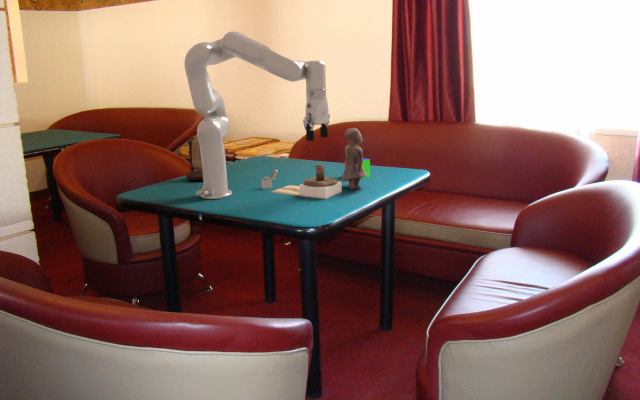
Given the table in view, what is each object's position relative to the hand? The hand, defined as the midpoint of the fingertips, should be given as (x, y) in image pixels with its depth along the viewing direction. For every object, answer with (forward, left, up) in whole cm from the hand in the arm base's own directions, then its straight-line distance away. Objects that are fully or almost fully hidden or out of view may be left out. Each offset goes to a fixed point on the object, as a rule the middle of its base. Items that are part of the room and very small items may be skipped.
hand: (317, 139), depth 218 cm
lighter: (+1, +25, -23) cm, 34 cm away
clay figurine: (+16, -7, -23) cm, 29 cm away
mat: (+1, +13, -22) cm, 26 cm away
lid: (0, -1, -17) cm, 17 cm away
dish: (0, -1, -22) cm, 22 cm away
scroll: (+4, +67, -23) cm, 71 cm away
